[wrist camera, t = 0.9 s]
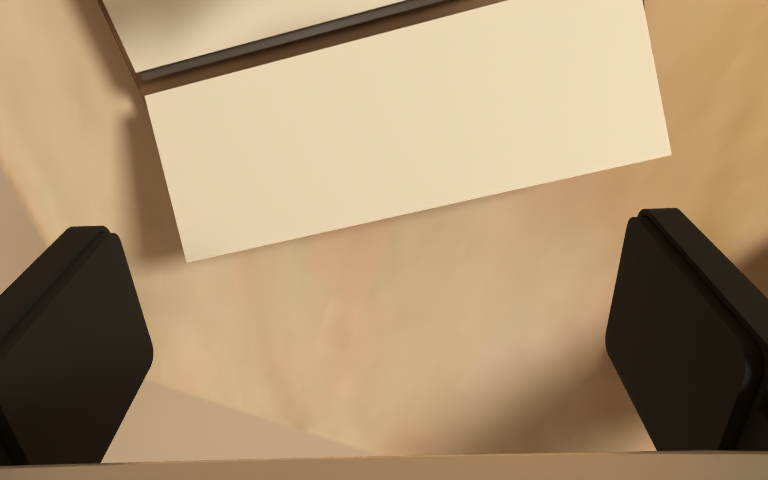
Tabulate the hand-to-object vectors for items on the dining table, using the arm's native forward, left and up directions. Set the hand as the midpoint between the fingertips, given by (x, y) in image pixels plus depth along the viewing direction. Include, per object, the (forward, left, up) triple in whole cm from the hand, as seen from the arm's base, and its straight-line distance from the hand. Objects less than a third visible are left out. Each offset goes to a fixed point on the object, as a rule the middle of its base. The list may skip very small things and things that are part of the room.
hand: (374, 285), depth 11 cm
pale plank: (-3, 0, -19) cm, 19 cm away
